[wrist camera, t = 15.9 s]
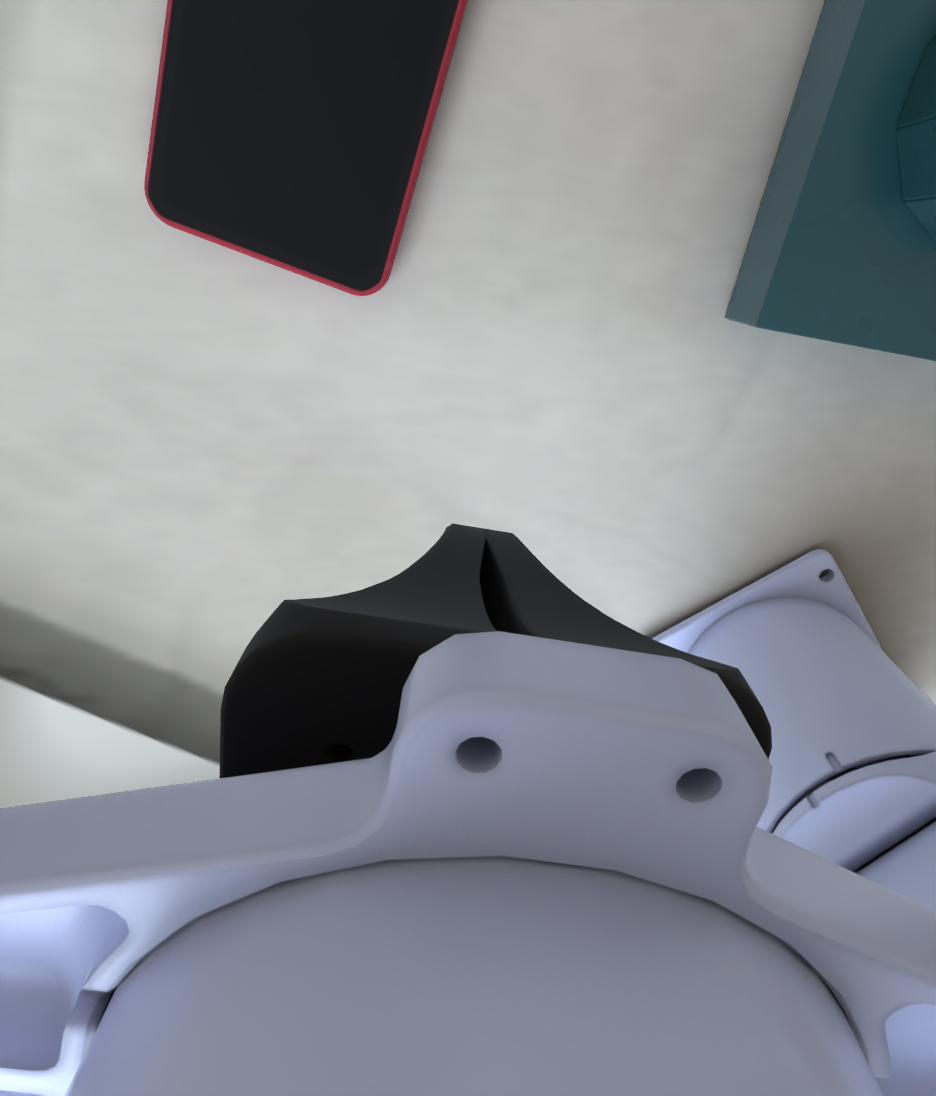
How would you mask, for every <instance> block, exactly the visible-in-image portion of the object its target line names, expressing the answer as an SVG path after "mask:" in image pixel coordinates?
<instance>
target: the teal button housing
mask: <svg viewBox="0 0 936 1096" xmlns="http://www.w3.org/2000/svg"><path fill="white" fill-rule="evenodd" d="M725 318H726V319H729V320H733V321H736V322H740V323H743V324H747V325H750V326H754V327H757V328H762V329H768V330H773V331H778V332H784V333H789V334H794V335H800V336H805V337H811V338H816V339H821V340H827V341H832V342H837V343H843V344H848V345H853V346H859V347H864V348H869V349H875V350H880V351H885V352H891V353H896V354H901V355H907V356H912V357H917V358H923V359H928V360H933V361H936V0H825V3H824V6H823V9H822V12H821V16H820V19H819V22H818V25H817V28H816V31H815V35H814V38H813V41H812V44H811V47H810V50H809V53H808V57H807V60H806V63H805V66H804V69H803V72H802V76H801V79H800V82H799V85H798V88H797V91H796V94H795V98H794V101H793V104H792V107H791V110H790V113H789V117H788V120H787V123H786V126H785V129H784V132H783V135H782V139H781V142H780V145H779V148H778V151H777V154H776V158H775V161H774V164H773V167H772V170H771V173H770V176H769V180H768V183H767V186H766V189H765V192H764V195H763V199H762V202H761V205H760V208H759V211H758V214H757V218H756V221H755V224H754V227H753V230H752V233H751V236H750V240H749V243H748V246H747V249H746V252H745V255H744V259H743V262H742V265H741V268H740V271H739V274H738V277H737V281H736V284H735V287H734V290H733V293H732V296H731V300H730V303H729V306H728V309H727V312H726V315H725Z"/></svg>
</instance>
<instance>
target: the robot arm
mask: <svg viewBox="0 0 936 1096" xmlns="http://www.w3.org/2000/svg"><path fill="white" fill-rule="evenodd" d="M826 569H829V572H828V574H827V575H825V576H824V577H819V575H820V573H821V572H822V571H823V570H826ZM0 1096H936V705H935V704H934V703H933V701H932V700H931V699H930V698H929V697H928V696H927V695H926V694H925V693H924V692H923V691H922V690H921V689H920V688H919V687H918V686H917V685H916V684H915V683H914V682H913V681H912V680H911V679H910V678H909V677H908V676H907V675H906V674H905V673H904V672H903V671H902V670H901V669H900V668H899V667H898V666H897V665H896V664H895V663H894V662H893V661H892V660H891V659H890V658H889V657H888V656H887V655H886V654H885V653H884V651H883V649H882V648H881V646H880V644H879V642H878V640H877V638H876V636H875V634H874V633H873V631H872V629H871V627H870V625H869V623H868V621H867V619H866V617H865V616H864V614H863V612H862V610H861V608H860V606H859V604H858V602H857V601H856V599H855V597H854V595H853V593H852V591H851V589H850V587H849V586H848V584H847V582H846V580H845V578H844V576H843V574H842V572H841V570H840V569H839V567H838V565H837V563H836V561H835V559H834V558H833V556H832V555H831V554H830V553H828V552H827V551H825V550H823V549H816V550H813V551H811V552H809V553H807V554H805V555H803V556H802V557H800V558H798V559H796V560H794V561H792V562H791V563H789V564H787V565H785V566H783V567H781V568H780V569H778V570H776V571H774V572H772V573H770V574H768V575H767V576H765V577H763V578H761V579H759V580H757V581H756V582H754V583H752V584H750V585H748V586H746V587H745V588H743V589H741V590H739V591H737V592H735V593H734V594H732V595H730V596H728V597H726V598H724V599H723V600H721V601H719V602H717V603H715V604H713V605H712V606H710V607H708V608H706V609H704V610H702V611H701V612H699V613H697V614H695V615H693V616H691V617H690V618H688V619H686V620H684V621H682V622H680V623H679V624H677V625H675V626H673V627H671V628H669V629H668V630H666V631H664V632H662V633H660V634H658V635H657V636H655V637H653V638H649V637H647V636H644V635H642V634H640V633H638V632H636V631H634V630H632V629H630V628H628V627H627V626H625V625H623V624H621V623H619V622H617V621H615V620H614V619H612V618H610V617H608V616H607V615H605V614H603V613H602V612H600V611H599V610H597V609H596V608H595V607H593V606H592V605H590V604H589V603H587V602H586V601H584V600H583V599H581V598H580V597H579V596H578V595H576V594H575V593H574V592H572V591H571V590H570V589H569V588H568V587H567V586H565V585H564V584H563V583H562V582H561V581H560V580H558V579H557V578H556V577H555V576H554V575H553V574H552V573H551V572H550V571H549V570H548V569H547V568H546V567H545V566H544V565H543V564H542V563H541V562H540V561H539V560H538V559H537V558H536V557H535V556H534V555H533V554H532V553H531V552H530V551H529V550H528V549H527V547H526V546H525V545H524V544H523V543H522V542H521V541H520V540H519V539H518V538H517V537H516V536H515V535H514V534H512V533H508V532H501V531H495V530H489V529H483V528H476V527H470V526H464V525H458V524H451V525H450V526H448V527H447V528H446V530H445V532H444V533H443V535H442V536H441V538H440V539H439V540H438V541H437V542H436V543H435V545H434V546H433V547H432V548H431V549H430V550H429V551H428V552H427V553H426V554H425V555H423V556H422V557H421V558H420V559H419V560H417V561H416V562H415V563H414V564H412V565H411V566H410V567H409V568H407V569H406V570H404V571H403V572H401V573H400V574H398V575H396V576H395V577H393V578H391V579H389V580H387V581H384V582H381V583H379V584H376V585H373V586H371V587H368V588H365V589H363V590H359V591H356V592H352V593H348V594H343V595H337V596H332V597H325V598H313V599H298V600H284V601H283V602H282V603H281V604H280V605H279V607H278V608H277V609H276V610H275V611H274V612H273V614H272V615H271V616H270V617H269V618H268V619H267V621H266V622H265V623H264V624H263V625H262V627H261V628H260V629H259V630H258V632H257V633H256V634H255V635H254V637H253V638H252V640H251V641H250V643H249V644H248V646H247V647H246V649H245V651H244V653H243V654H242V656H241V658H240V660H239V662H238V664H237V666H236V667H235V669H234V671H233V673H232V675H231V677H230V679H229V681H228V682H227V684H226V686H225V690H224V695H223V700H222V706H221V728H220V779H213V780H206V781H198V782H191V783H184V784H177V785H169V786H162V787H154V788H147V789H140V790H132V791H125V792H118V793H111V794H104V795H96V796H88V797H82V798H74V799H67V800H60V801H52V802H45V803H37V804H30V805H23V806H15V807H8V808H1V809H0Z"/></svg>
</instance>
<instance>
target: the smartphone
mask: <svg viewBox="0 0 936 1096" xmlns="http://www.w3.org/2000/svg"><path fill="white" fill-rule="evenodd" d="M466 4H467V0H168V4H167V11H166V19H165V27H164V35H163V42H162V50H161V58H160V66H159V74H158V81H157V89H156V97H155V105H154V113H153V120H152V128H151V136H150V144H149V152H148V159H147V167H146V175H145V187H144V188H145V195H146V198H147V202H148V204H149V206H150V208H151V209H152V211H153V212H154V214H155V215H156V216H157V217H158V218H159V219H160V220H161V221H163V222H164V223H165V224H167V225H169V226H171V227H174V228H177V229H179V230H182V231H185V232H187V233H190V234H193V235H195V236H198V237H201V238H203V239H206V240H209V241H211V242H214V243H217V244H219V245H222V246H225V247H227V248H230V249H233V250H235V251H238V252H241V253H243V254H246V255H249V256H251V257H254V258H257V259H259V260H262V261H265V262H267V263H270V264H273V265H276V266H278V267H281V268H284V269H286V270H289V271H292V272H294V273H297V274H300V275H302V276H305V277H308V278H310V279H313V280H316V281H318V282H321V283H324V284H326V285H329V286H332V287H334V288H337V289H340V290H342V291H345V292H348V293H350V294H354V295H358V296H365V295H370V294H373V293H375V292H377V291H378V290H380V289H381V288H382V287H383V286H384V285H385V283H386V282H387V280H388V278H389V276H390V273H391V269H392V266H393V262H394V259H395V255H396V252H397V248H398V245H399V241H400V238H401V234H402V230H403V227H404V223H405V220H406V216H407V213H408V209H409V206H410V202H411V199H412V195H413V191H414V188H415V184H416V181H417V177H418V174H419V170H420V167H421V163H422V160H423V156H424V153H425V149H426V145H427V142H428V138H429V135H430V131H431V128H432V124H433V121H434V117H435V114H436V110H437V107H438V103H439V99H440V96H441V92H442V89H443V85H444V82H445V78H446V75H447V71H448V68H449V64H450V61H451V57H452V53H453V50H454V46H455V43H456V39H457V36H458V32H459V29H460V25H461V22H462V18H463V15H464V11H465V7H466Z"/></svg>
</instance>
